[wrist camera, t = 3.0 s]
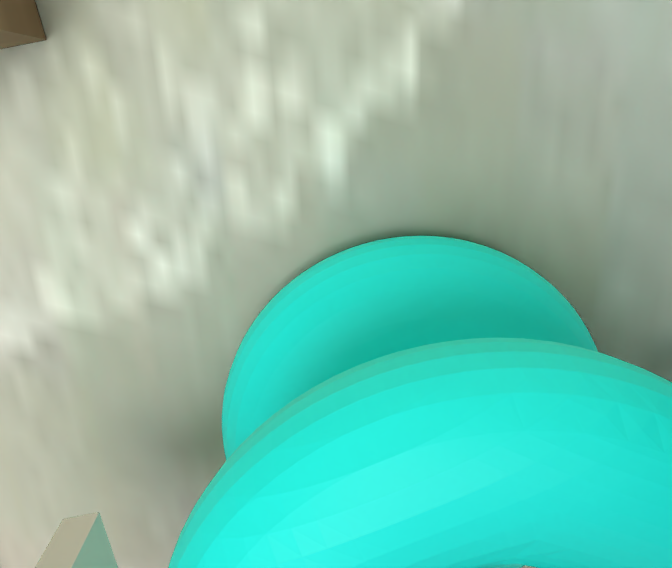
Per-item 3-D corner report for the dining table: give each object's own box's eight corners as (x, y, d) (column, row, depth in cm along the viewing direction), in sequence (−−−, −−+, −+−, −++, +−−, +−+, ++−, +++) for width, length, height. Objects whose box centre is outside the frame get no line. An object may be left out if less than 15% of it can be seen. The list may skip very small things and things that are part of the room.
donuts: (-21, 588, 8) (795, 254, 7) (166, 315, 17) (513, 163, 16) (321, 1051, 10) (937, 854, 9) (318, 591, 20) (623, 473, 19)
